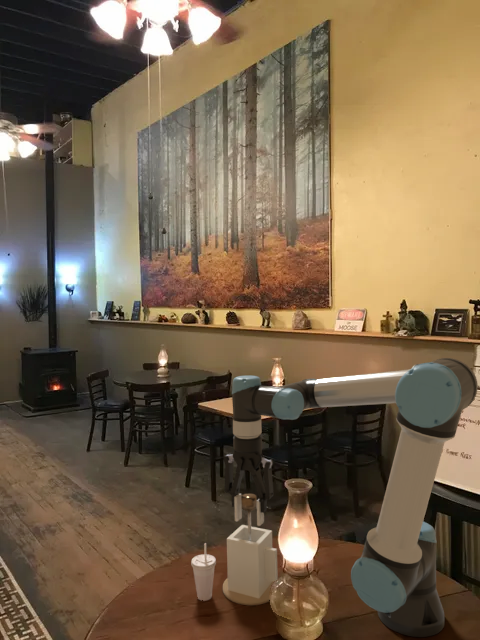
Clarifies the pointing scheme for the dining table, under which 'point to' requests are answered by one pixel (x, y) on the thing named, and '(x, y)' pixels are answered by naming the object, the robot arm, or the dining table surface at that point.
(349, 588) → the dining table surface
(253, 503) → the plunger
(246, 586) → the press
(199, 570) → the smoothie
